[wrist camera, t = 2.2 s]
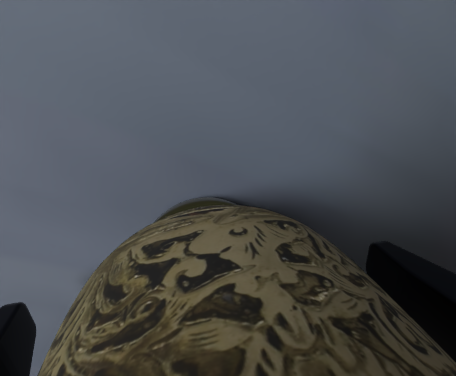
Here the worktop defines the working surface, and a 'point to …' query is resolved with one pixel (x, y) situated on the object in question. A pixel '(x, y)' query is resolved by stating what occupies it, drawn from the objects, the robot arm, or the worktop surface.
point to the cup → (236, 305)
